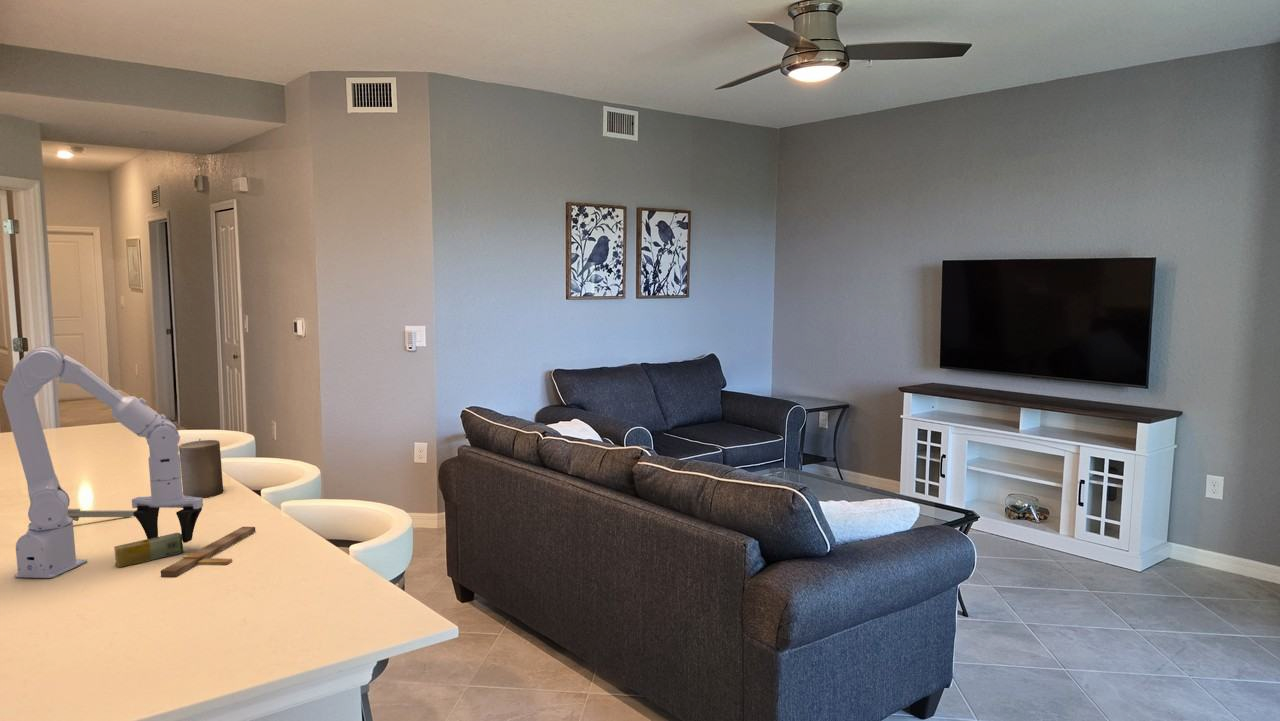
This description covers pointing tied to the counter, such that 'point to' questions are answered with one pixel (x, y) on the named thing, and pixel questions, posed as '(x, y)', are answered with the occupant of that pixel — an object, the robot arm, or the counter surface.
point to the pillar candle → (201, 468)
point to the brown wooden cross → (207, 553)
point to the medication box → (148, 549)
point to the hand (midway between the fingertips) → (170, 540)
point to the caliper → (99, 513)
